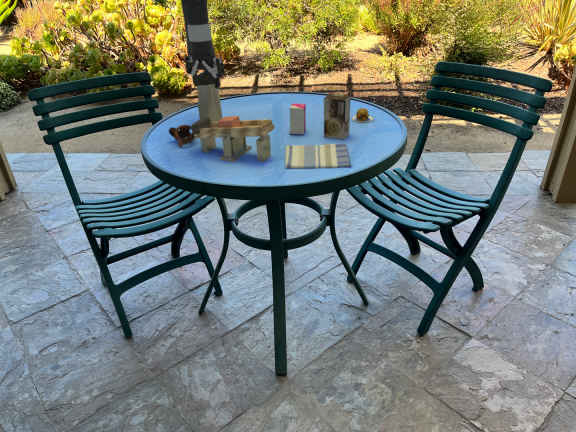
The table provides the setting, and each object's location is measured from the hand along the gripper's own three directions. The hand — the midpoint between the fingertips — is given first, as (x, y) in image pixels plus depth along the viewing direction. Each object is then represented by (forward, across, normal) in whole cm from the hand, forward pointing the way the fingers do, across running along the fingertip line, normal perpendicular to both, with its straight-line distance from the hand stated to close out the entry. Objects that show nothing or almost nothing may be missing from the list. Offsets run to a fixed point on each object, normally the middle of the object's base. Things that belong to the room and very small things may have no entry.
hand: (207, 87), depth 148 cm
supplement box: (+24, +23, +26) cm, 43 cm away
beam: (+15, +9, 0) cm, 18 cm away
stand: (+24, +9, 0) cm, 26 cm away
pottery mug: (+24, -17, +2) cm, 30 cm away
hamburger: (+25, +44, +49) cm, 71 cm away
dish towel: (+25, +39, +6) cm, 47 cm away
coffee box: (+24, +39, +28) cm, 54 cm away
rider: (+15, +8, 0) cm, 17 cm away
